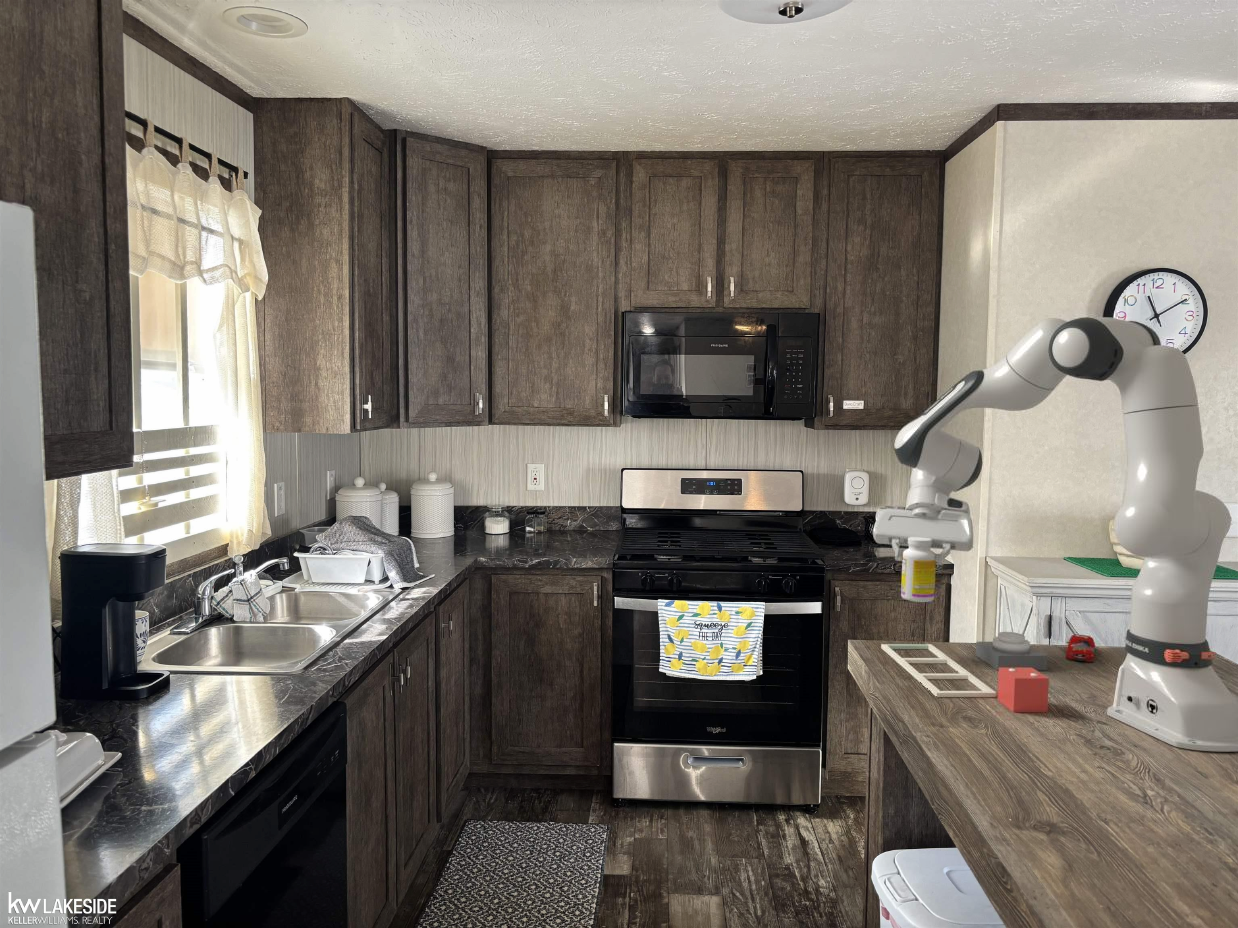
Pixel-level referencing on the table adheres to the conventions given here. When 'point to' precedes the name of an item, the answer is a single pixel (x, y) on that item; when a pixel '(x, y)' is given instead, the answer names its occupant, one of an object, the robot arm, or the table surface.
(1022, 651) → the dome
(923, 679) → the track
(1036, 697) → the die
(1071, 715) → the table surface
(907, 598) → the supplement bottle
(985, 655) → the dome base
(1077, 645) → the race car
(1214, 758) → the table surface
